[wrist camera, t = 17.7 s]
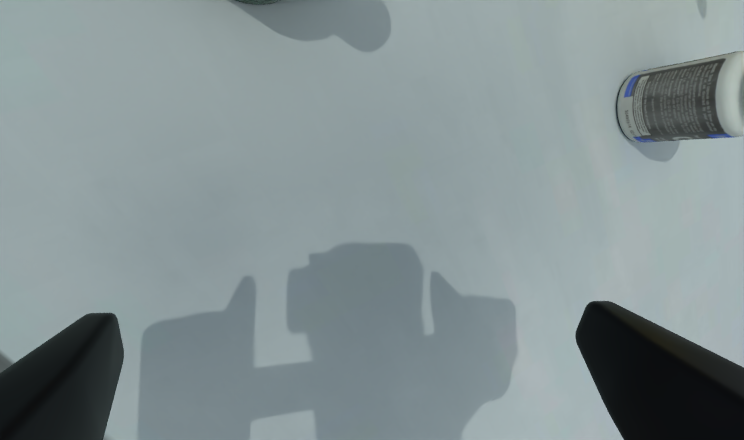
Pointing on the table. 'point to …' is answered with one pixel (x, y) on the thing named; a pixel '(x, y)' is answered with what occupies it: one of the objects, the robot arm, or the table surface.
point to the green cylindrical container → (258, 1)
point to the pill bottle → (685, 100)
